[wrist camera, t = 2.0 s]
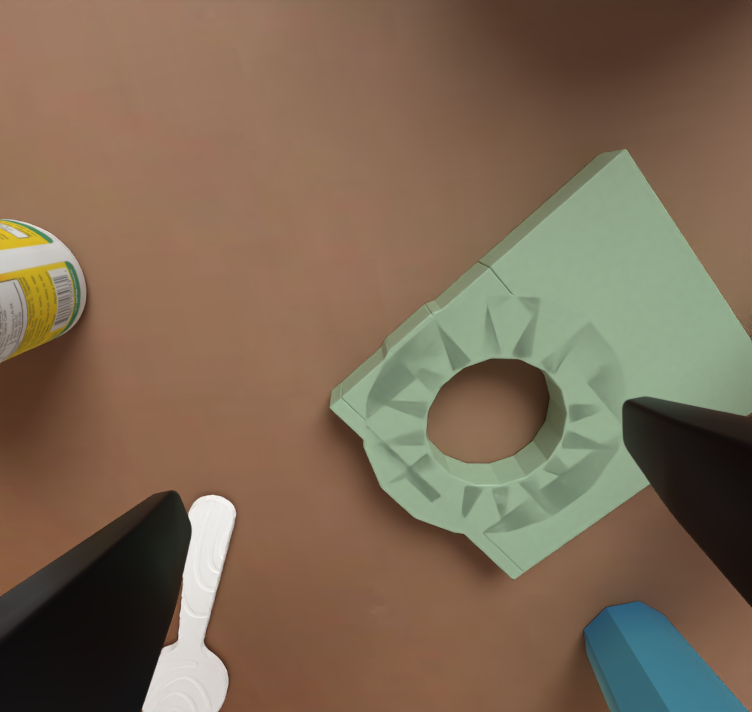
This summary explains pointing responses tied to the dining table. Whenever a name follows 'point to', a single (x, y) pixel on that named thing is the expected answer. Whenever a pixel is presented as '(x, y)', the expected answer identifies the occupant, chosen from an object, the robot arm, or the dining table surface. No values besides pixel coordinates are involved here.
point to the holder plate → (553, 365)
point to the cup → (651, 665)
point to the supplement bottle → (36, 288)
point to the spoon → (196, 619)
